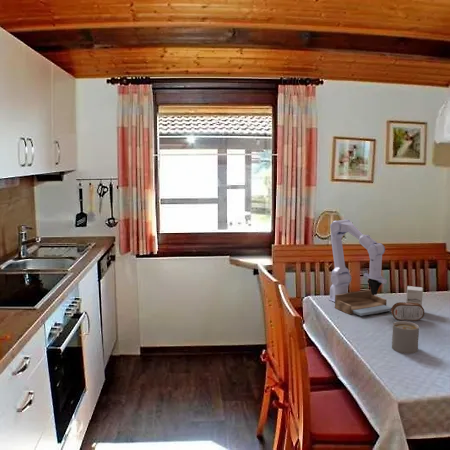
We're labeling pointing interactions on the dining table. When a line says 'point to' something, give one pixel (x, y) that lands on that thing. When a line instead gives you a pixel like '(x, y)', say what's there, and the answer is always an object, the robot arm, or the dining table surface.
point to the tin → (407, 311)
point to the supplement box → (414, 295)
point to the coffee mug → (405, 337)
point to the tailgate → (372, 310)
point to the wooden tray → (357, 301)
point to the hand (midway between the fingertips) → (374, 294)
